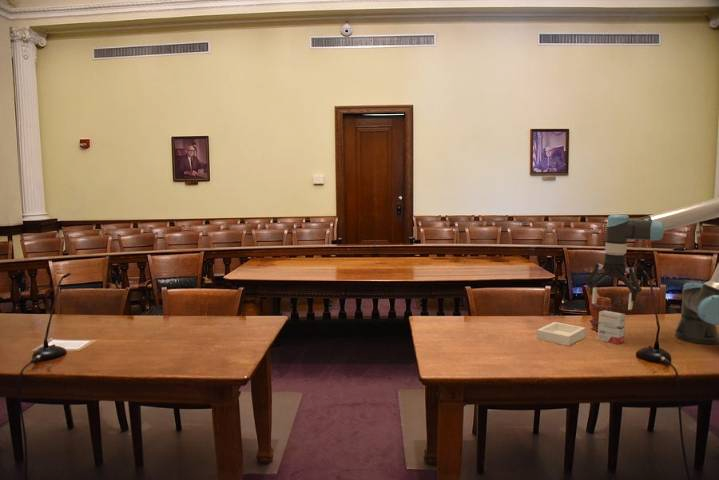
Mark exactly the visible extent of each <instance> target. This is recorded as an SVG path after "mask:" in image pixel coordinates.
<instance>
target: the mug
mask: <svg viewBox="0 0 719 480" xmlns="http://www.w3.org/2000/svg"><path fill="white" fill-rule="evenodd" d="M588 306H589V312H590V315H591V318H592V319H589V322H590V324H591V326H592V329H593V330H594V331H595V332H596V331H597V332H598V323H599V312H600V311H604V310H605V311H611V312H612V311H613V309H614V306H613V305H612V300H611V298H610V297H604V296H600V295H599V293H598V292H597V299H596V303H594V304H593V303H592V295H591V294H590V297H589V305H588Z"/></svg>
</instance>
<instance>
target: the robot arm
mask: <svg viewBox="0 0 719 480" xmlns="http://www.w3.org/2000/svg"><path fill="white" fill-rule="evenodd" d="M717 218H719V194H718V195H717V197H714V198H711V199H707V200H704V201H700V202H696V203H692V204H687V205H684V206H681V207H676V208H673V209H670V210H665V211H660V212H658V213H654V214H649V215H646V216H643V217H634V218H630V217H629V215H627V214H624V215H623V214H610V215H609V216H607V223H606V230H605V231H606V234H605V246H604V252H605V254H604V263H603V264H601V263H596V264H595V265H594V266H595V267H594V270H593V271H592V273H591V274H590V276H589V277H588V279H587V281H586V282H585V285H586V286H589V290H590V291H589V294H590V296H591V295H592V303H593V304H594V303H596V299H597V293H598V287H597V285H599V283H600V282H601V281H602V280H604V279H605V278H606V277H610V278H616V279H617V278H620V280H621V281H622V282H623V284H625V286H626V287H627V288H628V290H629V293H628V304H627V305H628V307H627V311H629V310H630V311H631V310H632V309H633V305H634V304H633V303H634V302H636V301H637V300H636V299H637V294H639V293H641V292H643V289H642V287H641V284H640V282H639V281H638V279H637V278H638V277H637V276H636V274H635V267H626V261H627V260H626V259H627V255H626V254H627V247H628V240H640V241H651V242H652V241H653V242H654V241H661V240H662V239H663V237H664V233H665V231H667V230H672V229H676V228H680V227H683V226H688V225H692V224H696V223H701V222H704V221H709V220H712V219H717ZM602 269H603V271H604V272H603V273H602V274H601V275H600V276H599V277H597V279H595V278H596V276H597V275H598V273H599V272H600V270H602ZM625 272H627V274H628V275H629V277H630V279H631V281H630V280H629V278H627V275H626V274H625ZM631 282H632V283H633V284H632V283H631ZM682 288H683V289H682V297H681V298H682V300H681V314H680V315H681V316H680V319H679V322H678V323H677V326H676V328H675V330H674V337H675V338H677V339H679V340H682V341H685V342H689V343H694V344H702V345H715V344H716V345H717V344H718V343H719V330H718V328H717V326H719V262H718V263H717V266H716V267H715V270H714V272H713V273H712V276H711V278H710V280H708V281H706V282H703V283H701V282H700V283H696V282H685V283H684V284H683V287H682Z"/></svg>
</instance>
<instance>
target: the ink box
mask: <svg viewBox="0 0 719 480" xmlns="http://www.w3.org/2000/svg"><path fill="white" fill-rule="evenodd" d="M625 325H626V313H621V312H616V311H612V310H611V311H605V310H604V311H600V312H599V323H598V331H597V340H598V341H601V342H602V341H603V342H607V343H610V344H611V343H612V344H615V345H621V344H623V343H624V341H625V329H626V328H625V327H626V326H625Z"/></svg>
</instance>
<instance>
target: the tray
mask: <svg viewBox="0 0 719 480" xmlns="http://www.w3.org/2000/svg"><path fill="white" fill-rule="evenodd" d="M585 337H586V327H583V326H580V325H579V326H577V325H572V324H567V323H562V322H557V321H553V322H552V323H551V322H550V323H549V324H547V325H544V326H543V327H540V328H538V329H537V330H536V340H540V341H545V342H549V343H553V344H559V345H563V346H568V347H569V346H571V345H573V344H574V343H576V342H578V341H580V340H582V339H584V338H585Z"/></svg>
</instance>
